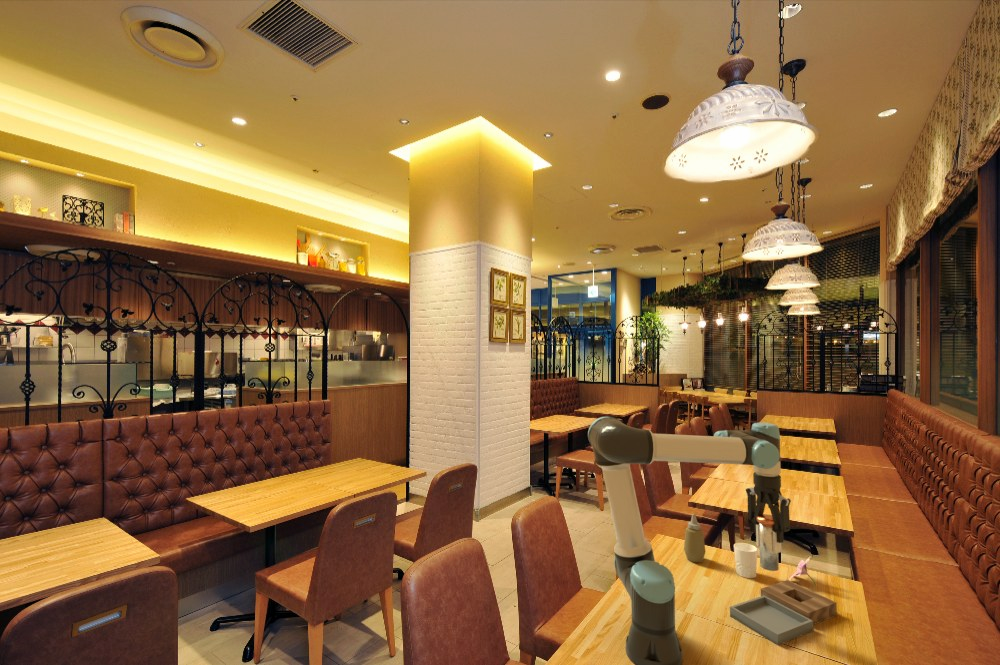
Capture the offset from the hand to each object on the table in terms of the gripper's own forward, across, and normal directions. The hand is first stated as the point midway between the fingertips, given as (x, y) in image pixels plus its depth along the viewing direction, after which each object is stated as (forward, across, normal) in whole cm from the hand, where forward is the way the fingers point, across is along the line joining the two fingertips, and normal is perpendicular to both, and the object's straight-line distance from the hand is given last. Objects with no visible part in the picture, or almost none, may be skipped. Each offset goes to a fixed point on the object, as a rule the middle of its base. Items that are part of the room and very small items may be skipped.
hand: (768, 548), depth 146 cm
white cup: (+23, +25, -21) cm, 40 cm away
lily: (+23, +12, -34) cm, 43 cm away
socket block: (+23, +2, -16) cm, 28 cm away
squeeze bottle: (+23, +42, -13) cm, 50 cm away
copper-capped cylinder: (+6, 0, 0) cm, 6 cm away
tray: (+23, 0, 0) cm, 23 cm away
